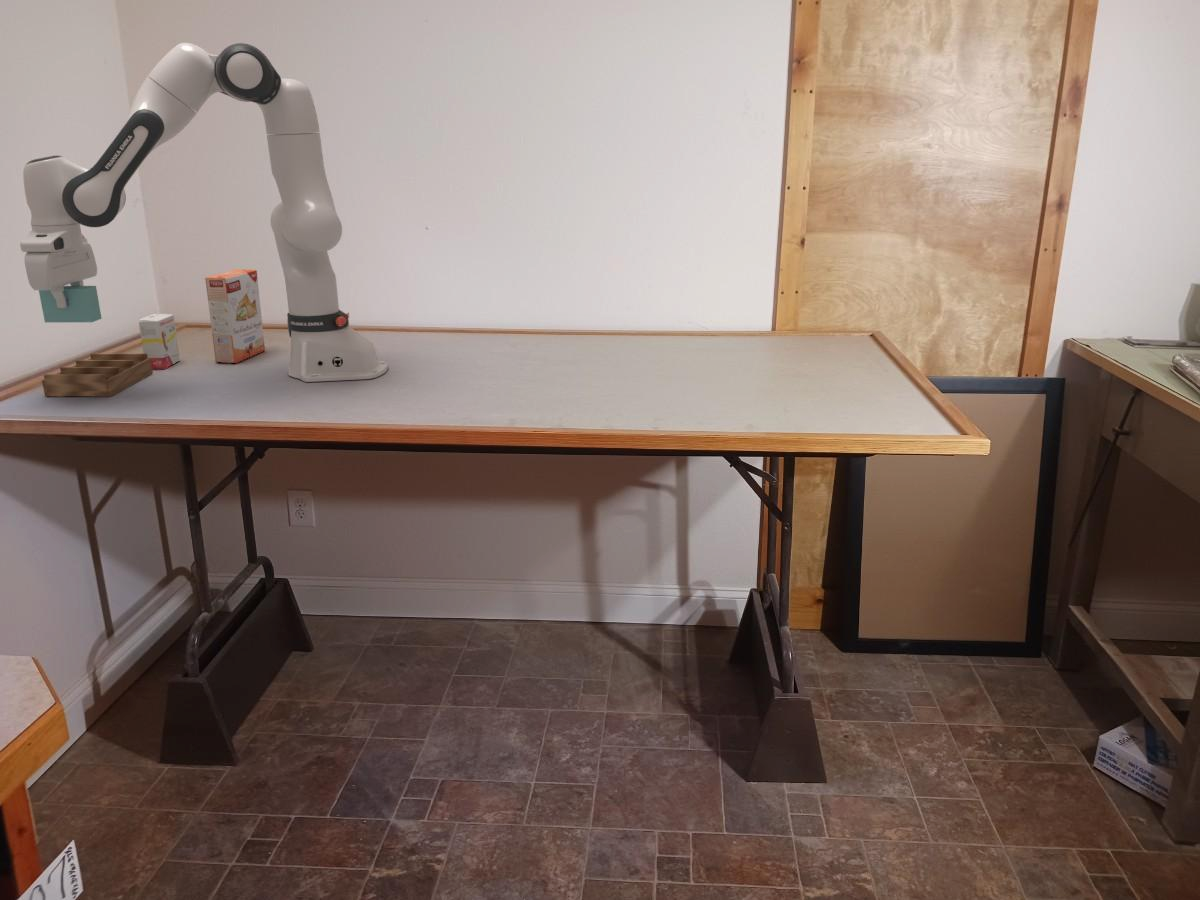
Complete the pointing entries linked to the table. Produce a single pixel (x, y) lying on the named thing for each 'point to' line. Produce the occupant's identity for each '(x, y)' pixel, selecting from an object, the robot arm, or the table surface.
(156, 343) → the ink box
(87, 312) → the teal block
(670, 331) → the table surface
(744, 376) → the table surface
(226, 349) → the cracker box
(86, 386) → the rack
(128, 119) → the robot arm
